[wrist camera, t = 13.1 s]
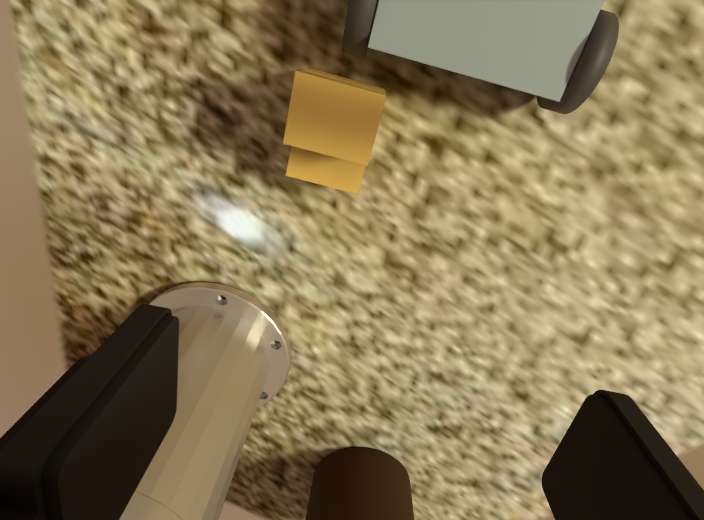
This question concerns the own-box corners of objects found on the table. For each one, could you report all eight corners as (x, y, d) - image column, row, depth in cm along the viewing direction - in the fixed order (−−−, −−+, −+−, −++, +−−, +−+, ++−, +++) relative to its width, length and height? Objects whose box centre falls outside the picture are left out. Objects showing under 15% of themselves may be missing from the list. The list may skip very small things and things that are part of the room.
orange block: (359, 181, 28) (356, 210, 23) (294, 164, 28) (275, 189, 23) (384, 88, 26) (386, 95, 20) (312, 68, 25) (295, 71, 20)
